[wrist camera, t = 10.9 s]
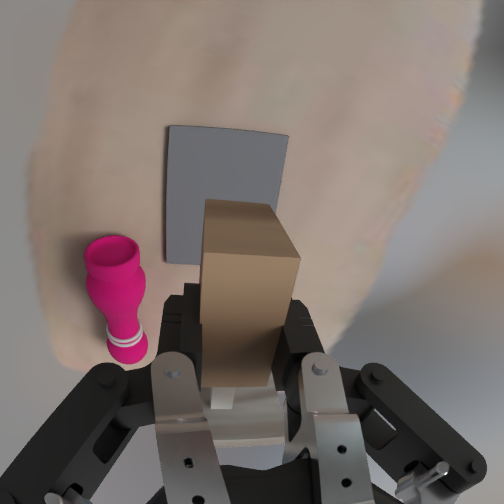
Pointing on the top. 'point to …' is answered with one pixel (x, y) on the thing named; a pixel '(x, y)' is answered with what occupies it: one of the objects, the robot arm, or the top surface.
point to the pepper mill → (118, 294)
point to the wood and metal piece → (243, 320)
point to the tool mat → (216, 179)
